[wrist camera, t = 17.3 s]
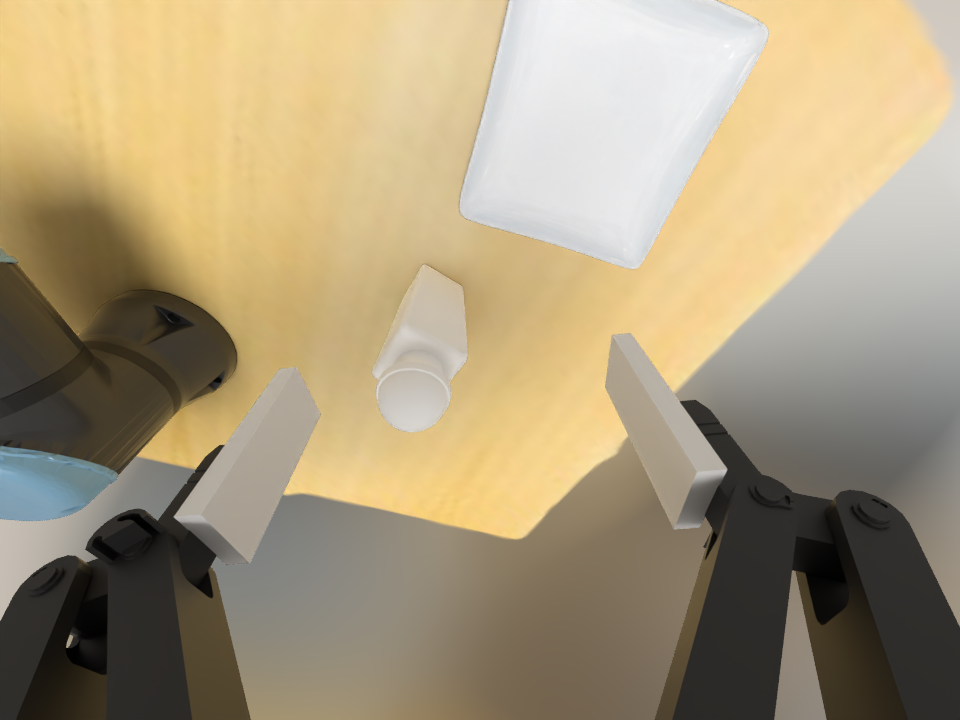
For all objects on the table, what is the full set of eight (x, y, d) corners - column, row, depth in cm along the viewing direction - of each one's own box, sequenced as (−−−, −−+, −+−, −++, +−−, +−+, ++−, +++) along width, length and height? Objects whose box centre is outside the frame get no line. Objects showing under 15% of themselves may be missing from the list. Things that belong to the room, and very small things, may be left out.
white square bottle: (397, 300, 44) (349, 432, 27) (421, 257, 41) (386, 373, 24) (442, 324, 47) (426, 461, 29) (469, 285, 44) (470, 411, 26)
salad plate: (523, -74, 27) (530, -95, 24) (752, 33, 31) (780, 26, 28) (455, 209, 39) (454, 218, 36) (627, 261, 43) (639, 272, 40)
